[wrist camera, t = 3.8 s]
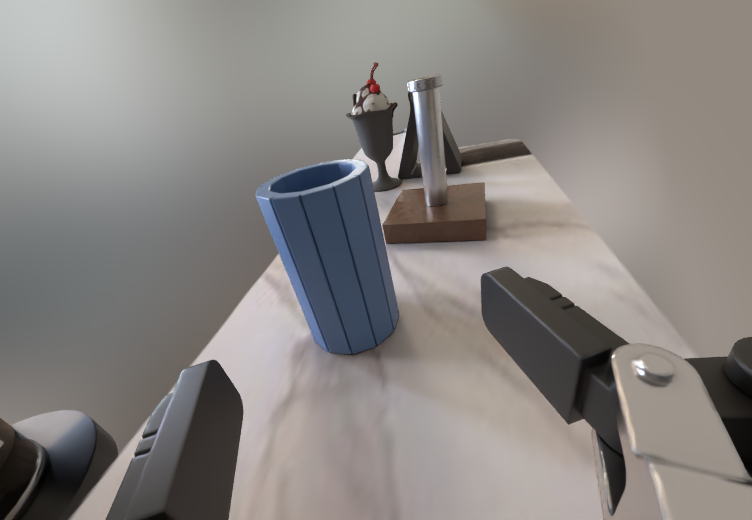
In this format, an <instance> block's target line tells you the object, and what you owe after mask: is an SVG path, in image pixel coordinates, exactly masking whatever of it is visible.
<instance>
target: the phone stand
mask: <svg viewBox="0 0 752 520" xmlns="http://www.w3.org/2000/svg"><path fill="white" fill-rule="evenodd" d="M408 98H409V101H410V107H411V108H410V109H411V110H410V117H409V122H408V127H407V132H406V138H405V143H404V148H403V153H402V159H401V164H400V169H399V174H398V178H399V179H407V178H416V177H422V169H421V163H417V162H416V160H417V152H418V145H419V144H418V135H417V127H416V119H415V110H414V102H413V93H412V92H409V93H408ZM441 117H442V129H443V142H444V154H445V167H446V174H452V173H459V172H460V171H461V164H462V156H461V154H460V152H459V149H458V147H457V145H456V142H455V140H454V138H453V136H452V133H451V131H450V129H449V127H448V124H447V122H446V120H445V118H444V115H443V113H442V111H441Z"/></svg>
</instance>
